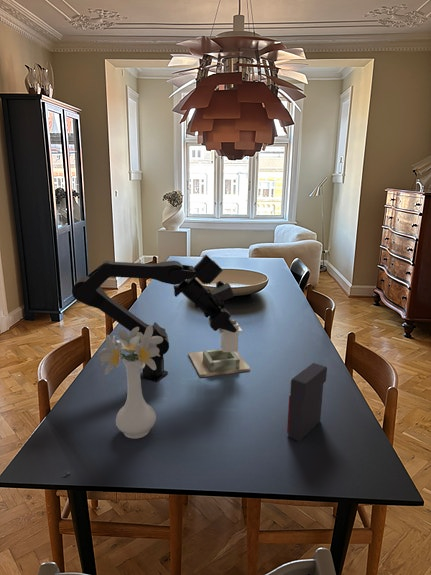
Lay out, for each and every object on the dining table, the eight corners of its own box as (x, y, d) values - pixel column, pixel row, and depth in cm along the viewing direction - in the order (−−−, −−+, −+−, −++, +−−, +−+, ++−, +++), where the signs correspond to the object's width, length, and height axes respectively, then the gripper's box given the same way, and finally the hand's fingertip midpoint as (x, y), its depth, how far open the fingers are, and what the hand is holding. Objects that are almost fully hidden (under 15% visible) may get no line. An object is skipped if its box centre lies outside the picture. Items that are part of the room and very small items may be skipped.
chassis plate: (199, 377, 124) (199, 365, 123) (188, 355, 139) (188, 344, 138) (250, 370, 128) (250, 358, 127) (233, 350, 143) (234, 339, 142)
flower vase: (169, 409, 107) (167, 318, 101) (154, 456, 90) (150, 349, 83) (120, 407, 108) (114, 316, 101) (95, 453, 90) (86, 347, 84)
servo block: (219, 352, 124) (219, 323, 122) (217, 347, 128) (217, 318, 126) (241, 351, 125) (242, 322, 123) (238, 346, 129) (239, 318, 127)
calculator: (306, 415, 105) (310, 361, 101) (322, 421, 102) (327, 366, 98) (284, 436, 97) (288, 377, 93) (301, 443, 94) (305, 384, 90)
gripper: (223, 283, 111) (261, 321, 116) (213, 268, 129) (246, 301, 134) (194, 312, 112) (233, 348, 117) (187, 293, 130) (221, 325, 134)
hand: (234, 328), depth 125 cm, fingers closed on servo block, 4 cm apart
